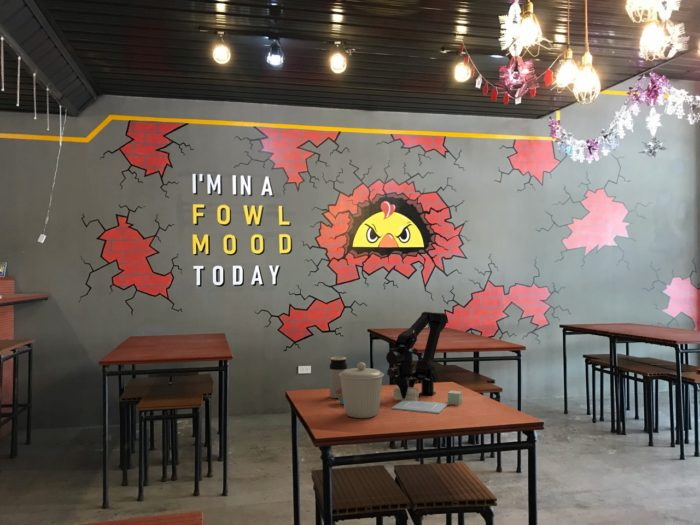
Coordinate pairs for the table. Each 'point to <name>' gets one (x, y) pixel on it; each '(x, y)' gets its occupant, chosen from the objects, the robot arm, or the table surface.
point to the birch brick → (411, 394)
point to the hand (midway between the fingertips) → (406, 396)
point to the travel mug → (336, 374)
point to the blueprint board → (420, 406)
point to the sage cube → (455, 397)
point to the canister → (361, 391)
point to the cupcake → (340, 395)
